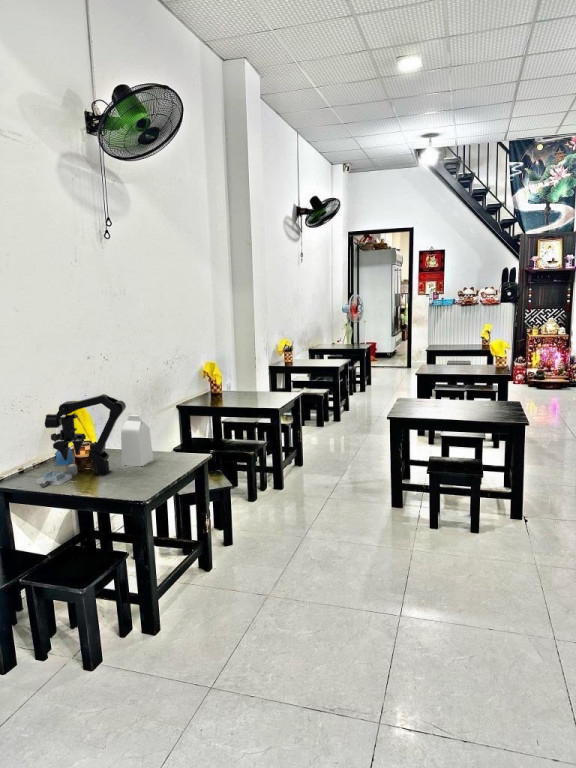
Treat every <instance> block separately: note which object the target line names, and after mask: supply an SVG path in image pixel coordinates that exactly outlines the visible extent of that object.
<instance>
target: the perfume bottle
mask: <svg viewBox="0 0 576 768" xmlns="http://www.w3.org/2000/svg"><path fill="white" fill-rule="evenodd" d="M68 447H69V445H68ZM72 451H73V450H72V449H71V448H70V447H69V451H68V458H67V460H64V458H63V456H62V454H61V453H60V451H59V450H56V452H55V461H56V465H57V466H60V465H61V466H62V465H63V466H64V465H65V466H67V465H68V466H69V465H70V464H72V462H73V452H72Z"/></svg>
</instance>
